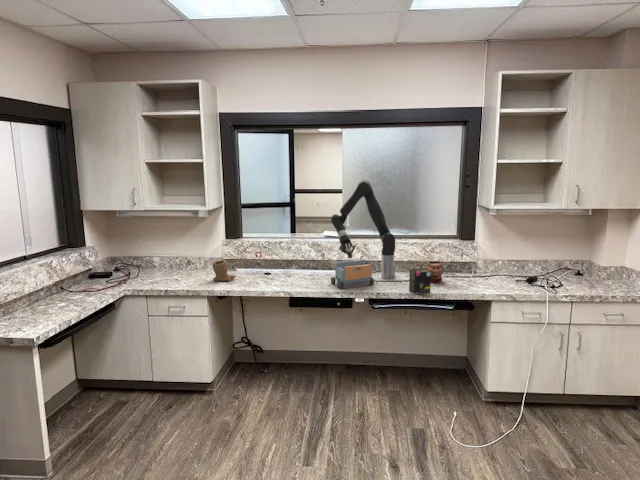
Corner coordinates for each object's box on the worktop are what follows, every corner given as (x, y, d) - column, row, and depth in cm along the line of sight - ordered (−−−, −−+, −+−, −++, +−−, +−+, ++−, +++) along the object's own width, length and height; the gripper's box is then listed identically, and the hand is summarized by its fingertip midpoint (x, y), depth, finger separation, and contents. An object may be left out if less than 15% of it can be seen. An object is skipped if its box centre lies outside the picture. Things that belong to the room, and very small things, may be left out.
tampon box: (415, 294, 266) (416, 272, 263) (408, 290, 274) (409, 269, 272) (430, 293, 269) (431, 271, 266) (423, 289, 277) (424, 267, 275)
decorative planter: (422, 277, 308) (423, 258, 305) (439, 277, 307) (440, 258, 305) (428, 284, 288) (429, 265, 286) (446, 284, 287) (447, 265, 285)
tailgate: (369, 277, 286) (369, 264, 284) (370, 277, 284) (371, 264, 282) (344, 279, 279) (344, 266, 278) (345, 280, 278) (346, 267, 276)
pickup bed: (363, 279, 304) (363, 257, 301) (374, 285, 288) (374, 262, 285) (330, 282, 295) (330, 260, 292) (339, 289, 279) (339, 266, 277)
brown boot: (210, 282, 300) (209, 262, 298) (216, 278, 312) (215, 258, 309) (230, 283, 298) (229, 262, 295) (236, 278, 309) (235, 259, 307)
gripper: (336, 235, 295) (343, 255, 285) (353, 234, 299) (361, 253, 290) (334, 241, 300) (340, 261, 291) (350, 240, 305) (357, 259, 295)
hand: (350, 257), depth 290 cm, fingers closed
